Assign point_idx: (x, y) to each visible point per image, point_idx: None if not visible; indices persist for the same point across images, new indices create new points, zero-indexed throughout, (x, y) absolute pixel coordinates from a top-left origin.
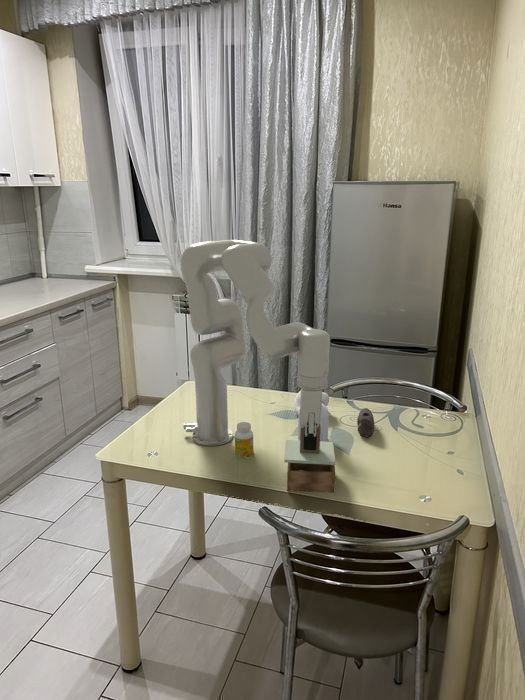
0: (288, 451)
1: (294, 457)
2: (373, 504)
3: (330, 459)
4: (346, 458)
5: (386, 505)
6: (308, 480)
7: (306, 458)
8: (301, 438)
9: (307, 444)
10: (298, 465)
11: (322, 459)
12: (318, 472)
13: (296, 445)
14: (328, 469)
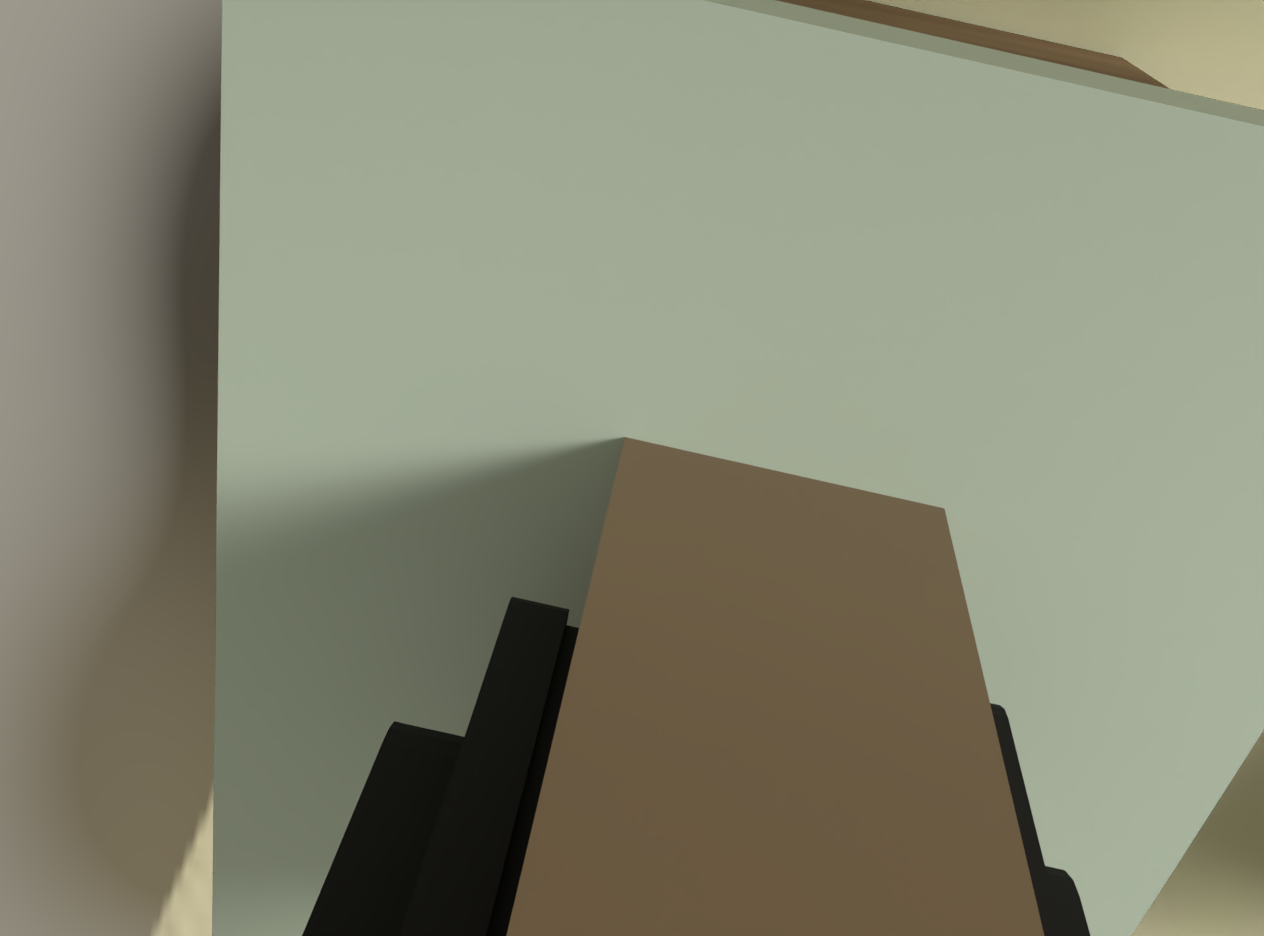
0: (742, 135)
1: (362, 243)
2: (208, 847)
3: (303, 916)
4: (1227, 908)
5: (198, 930)
6: None
7: (320, 524)
8: (549, 787)
9: (366, 804)
10: None
11: (299, 801)
12: None
13: (1067, 447)
14: None
